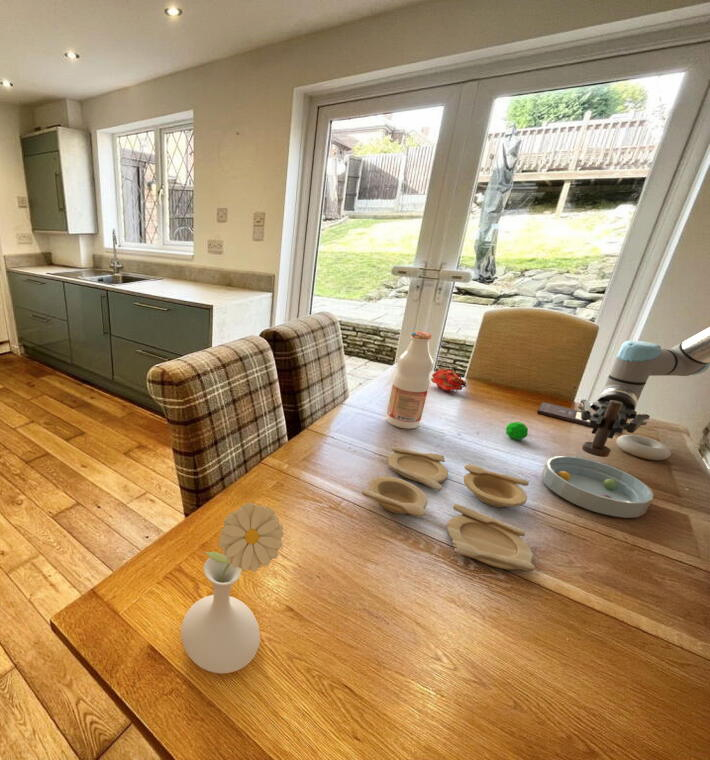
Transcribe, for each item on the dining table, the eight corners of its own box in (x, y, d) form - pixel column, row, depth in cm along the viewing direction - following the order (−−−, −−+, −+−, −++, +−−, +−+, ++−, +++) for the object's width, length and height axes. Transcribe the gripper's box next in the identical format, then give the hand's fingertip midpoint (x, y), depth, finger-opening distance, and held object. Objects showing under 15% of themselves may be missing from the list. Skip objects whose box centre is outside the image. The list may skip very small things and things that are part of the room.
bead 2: (616, 489, 89) (620, 480, 88) (615, 493, 88) (619, 484, 87) (601, 484, 91) (605, 475, 90) (600, 488, 90) (604, 479, 89)
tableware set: (531, 593, 65) (539, 574, 63) (352, 517, 81) (355, 501, 80) (529, 487, 91) (534, 472, 89) (394, 446, 107) (396, 433, 106)
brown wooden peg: (609, 452, 100) (632, 402, 95) (607, 459, 97) (630, 408, 92) (583, 444, 103) (603, 395, 98) (580, 451, 100) (600, 401, 95)
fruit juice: (378, 417, 123) (395, 330, 113) (404, 413, 126) (422, 328, 115) (399, 431, 115) (420, 338, 104) (426, 427, 117) (449, 336, 107)
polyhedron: (529, 442, 109) (535, 427, 108) (511, 442, 110) (516, 427, 108) (516, 433, 114) (521, 419, 112) (499, 433, 114) (504, 418, 112)
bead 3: (611, 505, 84) (615, 496, 83) (609, 510, 83) (614, 501, 82) (596, 499, 86) (600, 490, 85) (594, 504, 84) (598, 495, 83)
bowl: (646, 496, 88) (655, 480, 86) (640, 533, 78) (650, 515, 76) (549, 463, 100) (555, 448, 98) (532, 490, 90) (538, 474, 88)
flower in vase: (172, 672, 53) (167, 527, 44) (190, 598, 64) (189, 468, 54) (269, 692, 51) (286, 543, 42) (271, 612, 61) (285, 479, 52)
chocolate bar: (542, 401, 132) (616, 419, 120) (541, 404, 132) (615, 422, 121) (538, 410, 126) (616, 430, 114) (537, 412, 127) (615, 432, 115)
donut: (626, 440, 111) (605, 446, 108) (631, 429, 110) (610, 435, 107) (675, 459, 103) (654, 466, 99) (682, 447, 101) (661, 454, 98)
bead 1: (569, 481, 92) (573, 472, 91) (567, 485, 91) (571, 476, 90) (556, 476, 94) (559, 467, 93) (554, 480, 92) (557, 471, 91)
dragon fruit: (427, 387, 150) (459, 402, 142) (422, 379, 144) (454, 394, 136) (441, 368, 149) (474, 383, 141) (436, 360, 144) (470, 374, 135)
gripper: (650, 426, 104) (643, 457, 90) (574, 407, 115) (557, 432, 100) (662, 400, 101) (657, 428, 87) (583, 383, 112) (567, 406, 98)
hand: (603, 430), depth 94 cm, fingers closed on brown wooden peg, 2 cm apart
